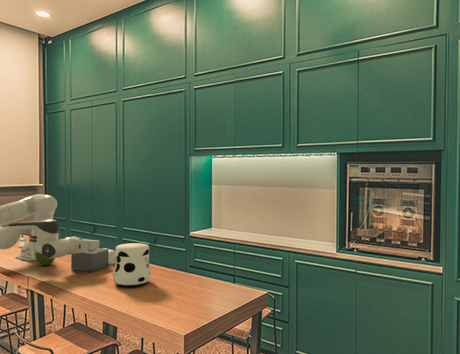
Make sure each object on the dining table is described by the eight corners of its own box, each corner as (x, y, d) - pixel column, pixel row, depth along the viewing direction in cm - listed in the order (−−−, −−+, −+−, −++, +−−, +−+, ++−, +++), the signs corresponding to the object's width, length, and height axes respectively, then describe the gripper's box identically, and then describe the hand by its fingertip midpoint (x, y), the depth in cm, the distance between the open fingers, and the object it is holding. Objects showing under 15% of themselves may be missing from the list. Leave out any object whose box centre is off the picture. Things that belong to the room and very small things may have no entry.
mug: (106, 265, 207) (106, 251, 207) (97, 262, 214) (97, 249, 214) (124, 262, 216) (124, 248, 216) (115, 259, 223) (115, 246, 223)
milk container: (158, 282, 177) (158, 245, 177) (131, 291, 162) (132, 251, 162) (132, 276, 186) (132, 241, 186) (105, 285, 171) (105, 246, 171)
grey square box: (71, 269, 197) (71, 251, 197) (88, 264, 209) (88, 247, 209) (91, 272, 192) (92, 253, 192) (108, 266, 204) (108, 249, 204)
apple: (30, 266, 202) (31, 248, 202) (45, 262, 212) (46, 245, 212) (46, 268, 199) (46, 250, 199) (60, 264, 209) (60, 246, 209)
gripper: (57, 249, 192) (76, 245, 205) (87, 253, 185) (106, 248, 198) (57, 237, 192) (77, 233, 205) (88, 240, 185) (106, 236, 198)
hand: (91, 240), depth 201 cm, fingers open, 8 cm apart
